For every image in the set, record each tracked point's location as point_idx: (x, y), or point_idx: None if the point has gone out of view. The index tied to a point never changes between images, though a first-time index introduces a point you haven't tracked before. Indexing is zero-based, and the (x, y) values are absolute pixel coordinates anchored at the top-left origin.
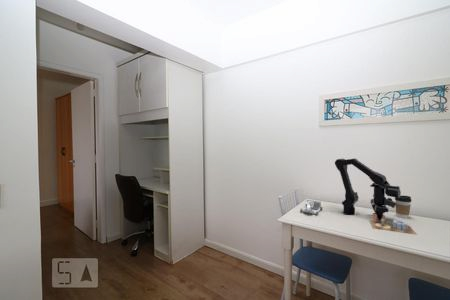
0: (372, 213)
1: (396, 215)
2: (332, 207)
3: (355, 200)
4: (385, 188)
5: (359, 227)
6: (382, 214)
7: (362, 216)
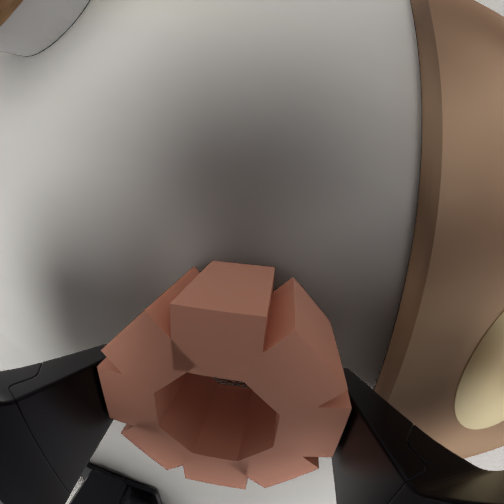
0: (190, 478)
1: (13, 49)
2: (68, 498)
3: None
4: None
5: None
6: (445, 455)
7: None
